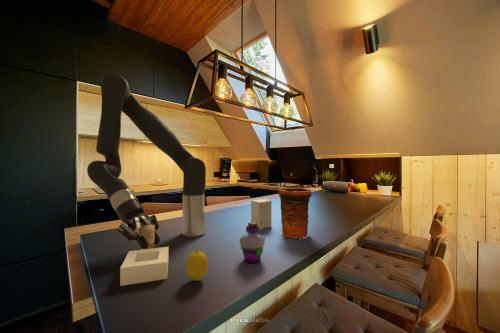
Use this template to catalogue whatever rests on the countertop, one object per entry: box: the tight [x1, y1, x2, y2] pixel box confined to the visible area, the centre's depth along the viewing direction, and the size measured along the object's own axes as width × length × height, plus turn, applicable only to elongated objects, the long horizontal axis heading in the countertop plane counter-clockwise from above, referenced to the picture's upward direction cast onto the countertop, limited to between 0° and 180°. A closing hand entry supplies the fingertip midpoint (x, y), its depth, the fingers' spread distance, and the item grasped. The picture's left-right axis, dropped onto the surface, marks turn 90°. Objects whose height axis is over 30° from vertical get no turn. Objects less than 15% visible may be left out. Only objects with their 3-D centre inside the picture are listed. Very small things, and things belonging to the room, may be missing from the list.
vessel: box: [277, 187, 313, 240], centre depth 94 cm, size 14×14×20 cm
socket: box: [119, 246, 170, 287], centre depth 61 cm, size 11×11×4 cm
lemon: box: [185, 249, 209, 282], centre depth 56 cm, size 6×6×8 cm
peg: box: [140, 225, 156, 250], centre depth 71 cm, size 4×4×10 cm
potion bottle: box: [239, 221, 266, 265], centre depth 69 cm, size 9×9×12 cm
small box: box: [250, 198, 272, 231], centre depth 104 cm, size 8×6×13 cm
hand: (152, 245), depth 70 cm, fingers closed on peg, 4 cm apart
